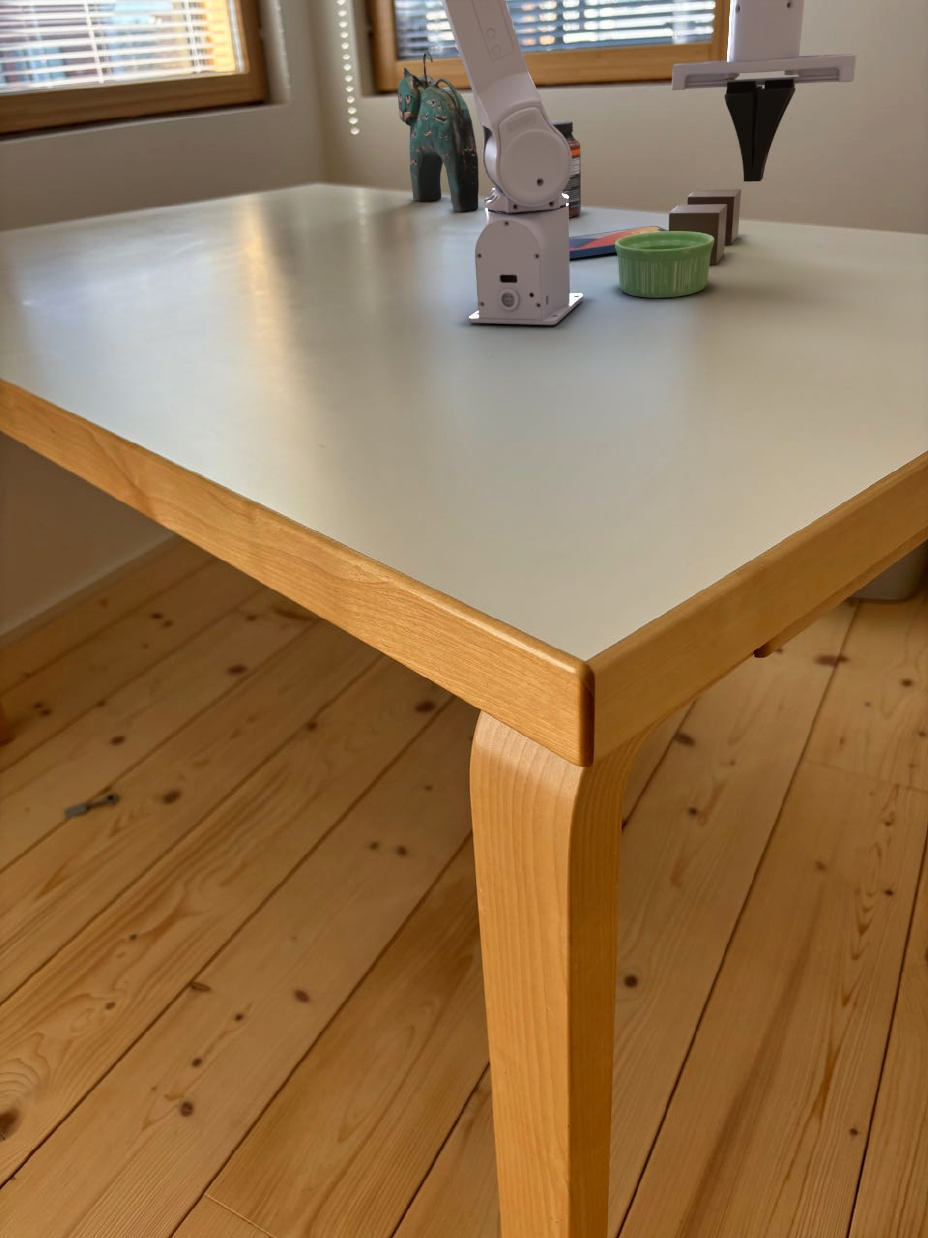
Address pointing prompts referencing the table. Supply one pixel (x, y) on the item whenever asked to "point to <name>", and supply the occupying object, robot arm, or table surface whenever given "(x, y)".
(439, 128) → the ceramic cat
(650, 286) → the ramekin
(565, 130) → the supplement bottle
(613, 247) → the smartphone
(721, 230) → the walnut block near
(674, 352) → the table surface
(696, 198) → the walnut block far
